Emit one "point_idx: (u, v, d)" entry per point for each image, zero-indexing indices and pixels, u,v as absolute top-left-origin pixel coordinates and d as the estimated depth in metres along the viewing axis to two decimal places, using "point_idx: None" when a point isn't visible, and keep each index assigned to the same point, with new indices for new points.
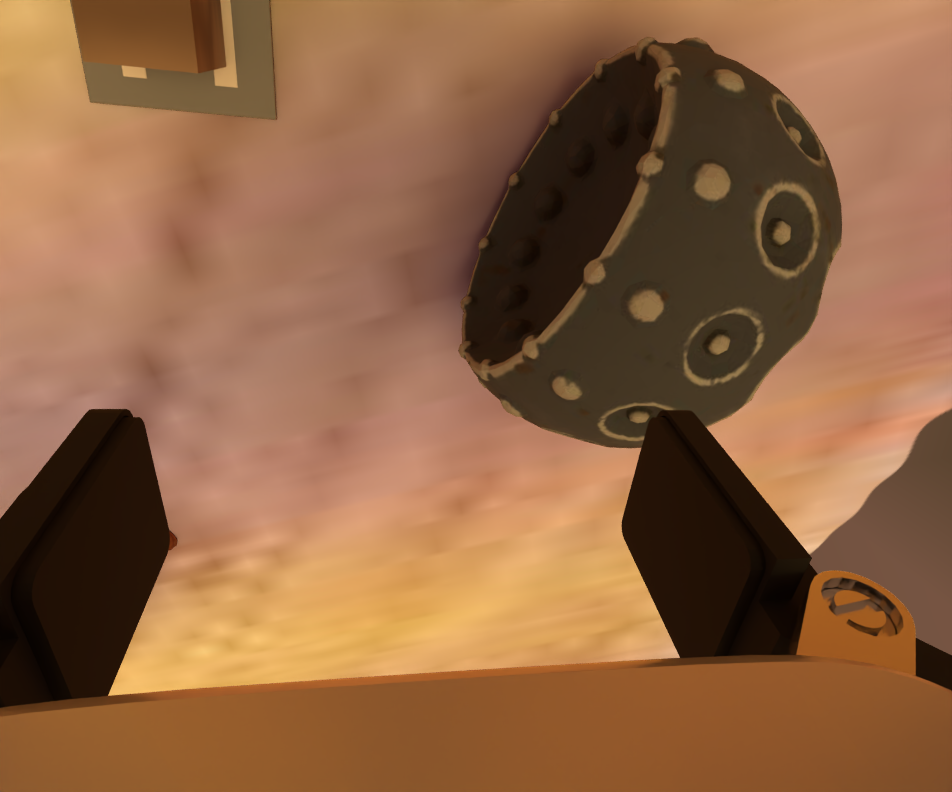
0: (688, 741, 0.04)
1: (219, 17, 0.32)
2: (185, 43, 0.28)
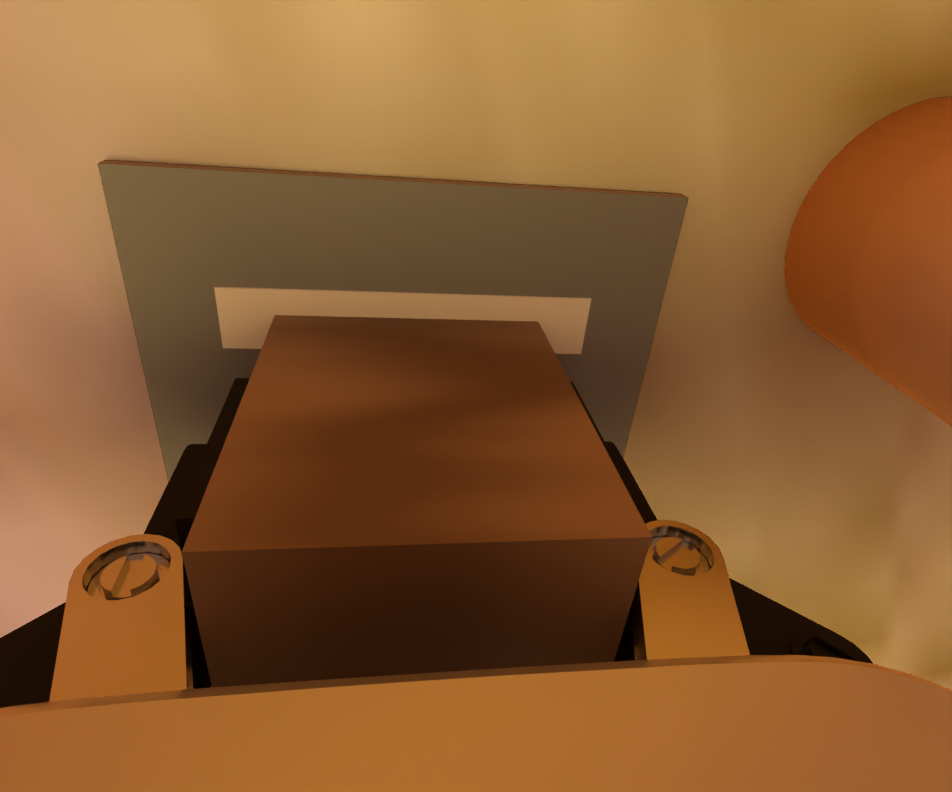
0: (688, 741, 0.04)
1: None
2: None
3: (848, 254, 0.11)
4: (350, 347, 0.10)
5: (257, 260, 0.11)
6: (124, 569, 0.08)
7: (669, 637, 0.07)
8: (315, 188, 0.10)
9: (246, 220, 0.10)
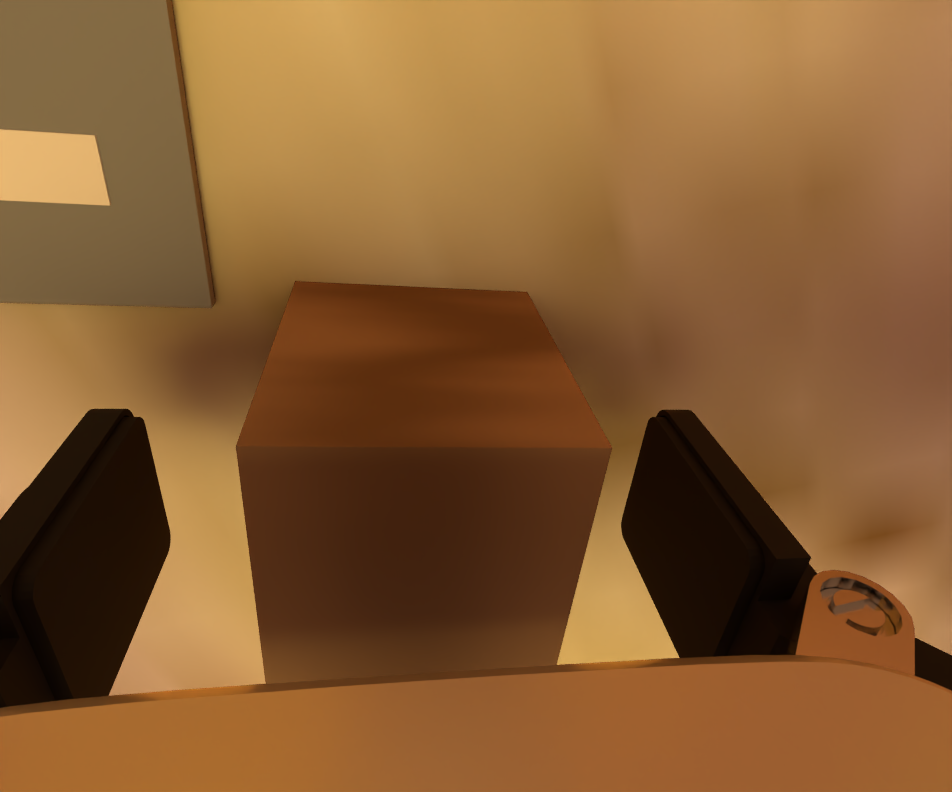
0: (688, 741, 0.04)
1: None
2: (338, 670, 0.10)
3: None
4: (362, 307, 0.12)
5: None
6: None
7: None
8: None
9: None
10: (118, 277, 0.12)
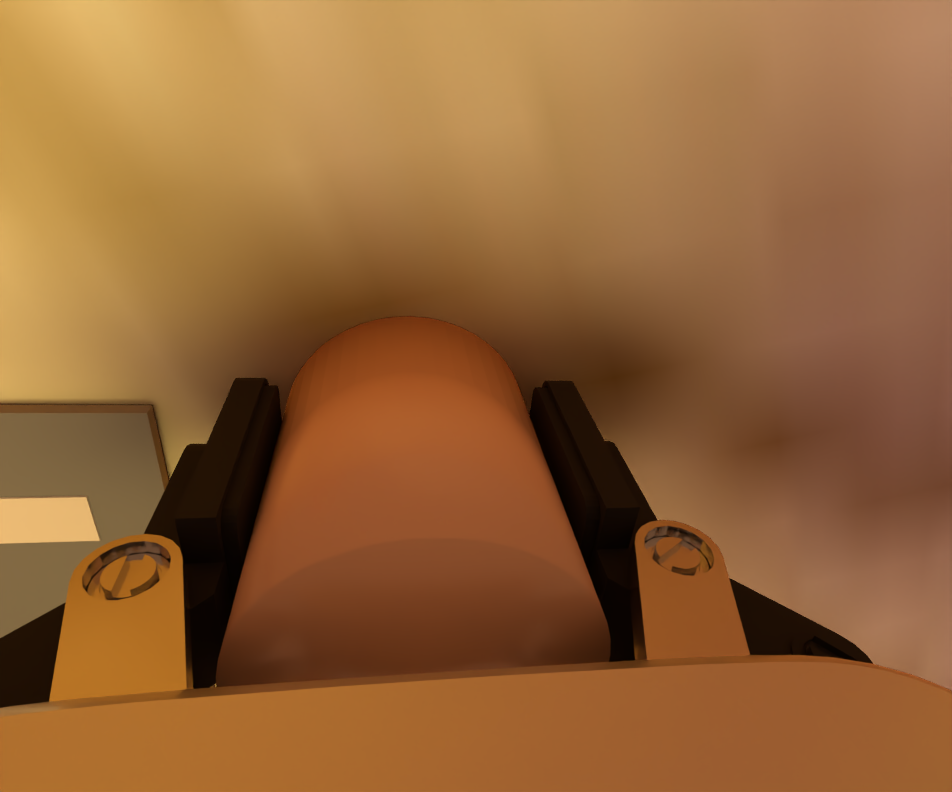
0: (688, 741, 0.04)
1: None
2: None
3: None
4: None
5: None
6: (124, 569, 0.08)
7: (669, 637, 0.07)
8: None
9: None
10: None
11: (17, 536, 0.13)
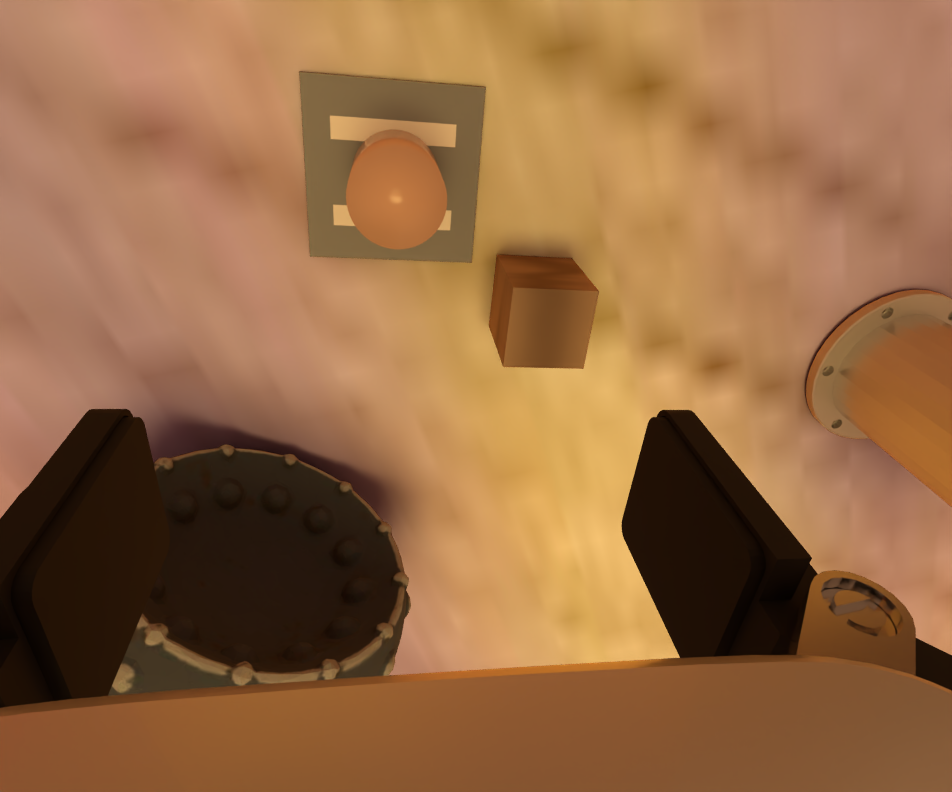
0: (688, 741, 0.04)
1: None
2: (523, 361, 0.36)
3: None
4: (522, 261, 0.38)
5: (344, 106, 0.33)
6: None
7: None
8: (363, 81, 0.33)
9: (341, 91, 0.33)
10: (446, 252, 0.38)
11: (428, 142, 0.35)
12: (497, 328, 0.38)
